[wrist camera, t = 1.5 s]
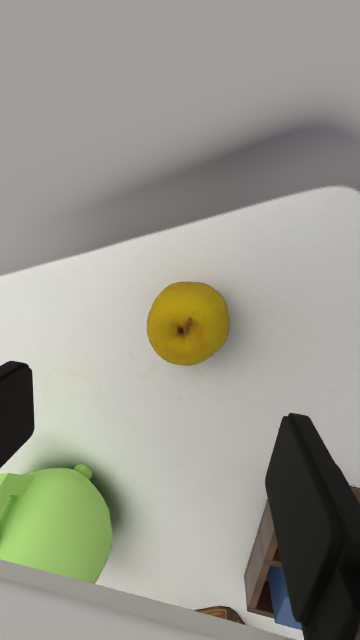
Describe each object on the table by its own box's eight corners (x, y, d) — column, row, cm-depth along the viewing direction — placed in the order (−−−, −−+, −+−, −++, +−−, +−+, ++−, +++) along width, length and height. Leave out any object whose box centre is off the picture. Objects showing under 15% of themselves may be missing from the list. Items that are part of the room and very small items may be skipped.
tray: (276, 470, 28) (284, 500, 24) (364, 489, 27) (384, 522, 24) (244, 575, 33) (247, 611, 30) (317, 594, 32) (328, 633, 29)
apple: (216, 265, 23) (216, 276, 15) (235, 332, 24) (244, 372, 16) (150, 286, 24) (119, 306, 16) (171, 348, 25) (152, 392, 18)
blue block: (314, 556, 30) (331, 608, 26) (304, 581, 31) (318, 634, 27) (275, 547, 30) (285, 596, 26) (266, 572, 32) (274, 623, 27)
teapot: (145, 547, 34) (106, 712, 22) (59, 554, 37) (-17, 703, 25) (87, 421, 29) (-2, 543, 17) (-6, 440, 32) (-137, 555, 20)
